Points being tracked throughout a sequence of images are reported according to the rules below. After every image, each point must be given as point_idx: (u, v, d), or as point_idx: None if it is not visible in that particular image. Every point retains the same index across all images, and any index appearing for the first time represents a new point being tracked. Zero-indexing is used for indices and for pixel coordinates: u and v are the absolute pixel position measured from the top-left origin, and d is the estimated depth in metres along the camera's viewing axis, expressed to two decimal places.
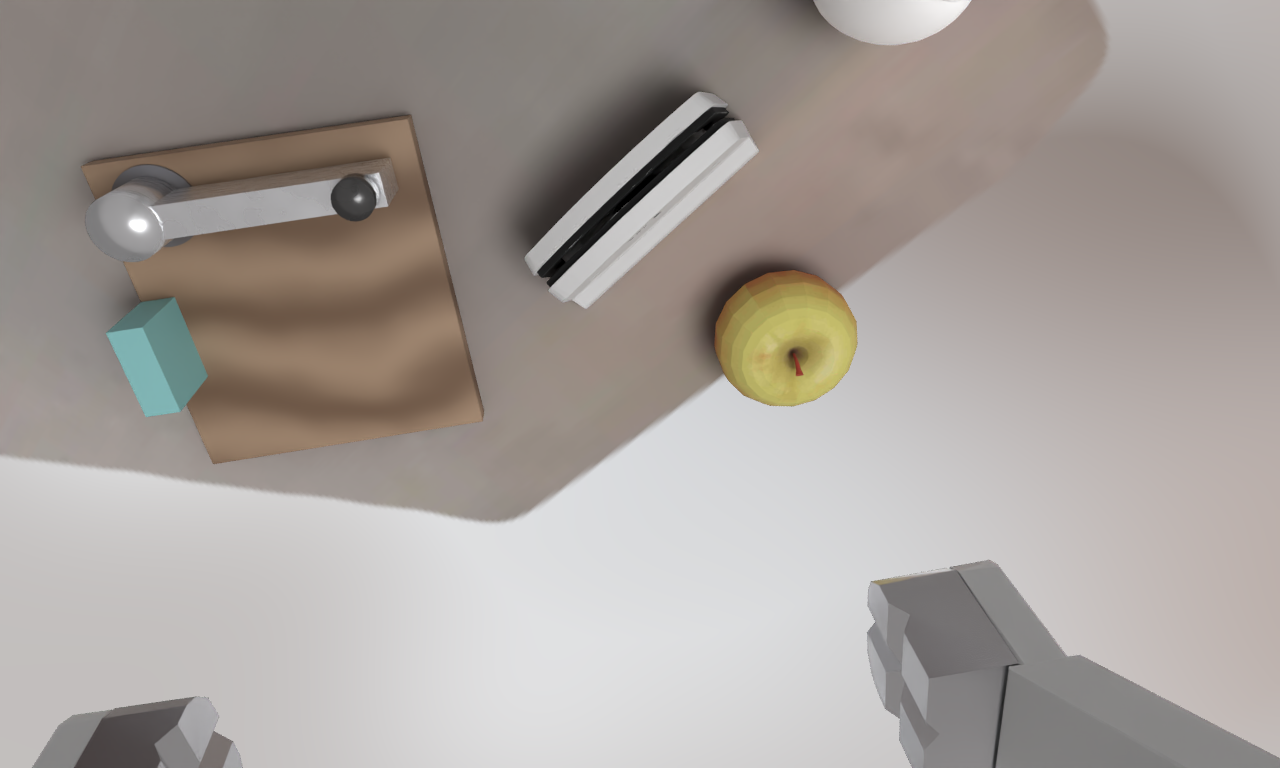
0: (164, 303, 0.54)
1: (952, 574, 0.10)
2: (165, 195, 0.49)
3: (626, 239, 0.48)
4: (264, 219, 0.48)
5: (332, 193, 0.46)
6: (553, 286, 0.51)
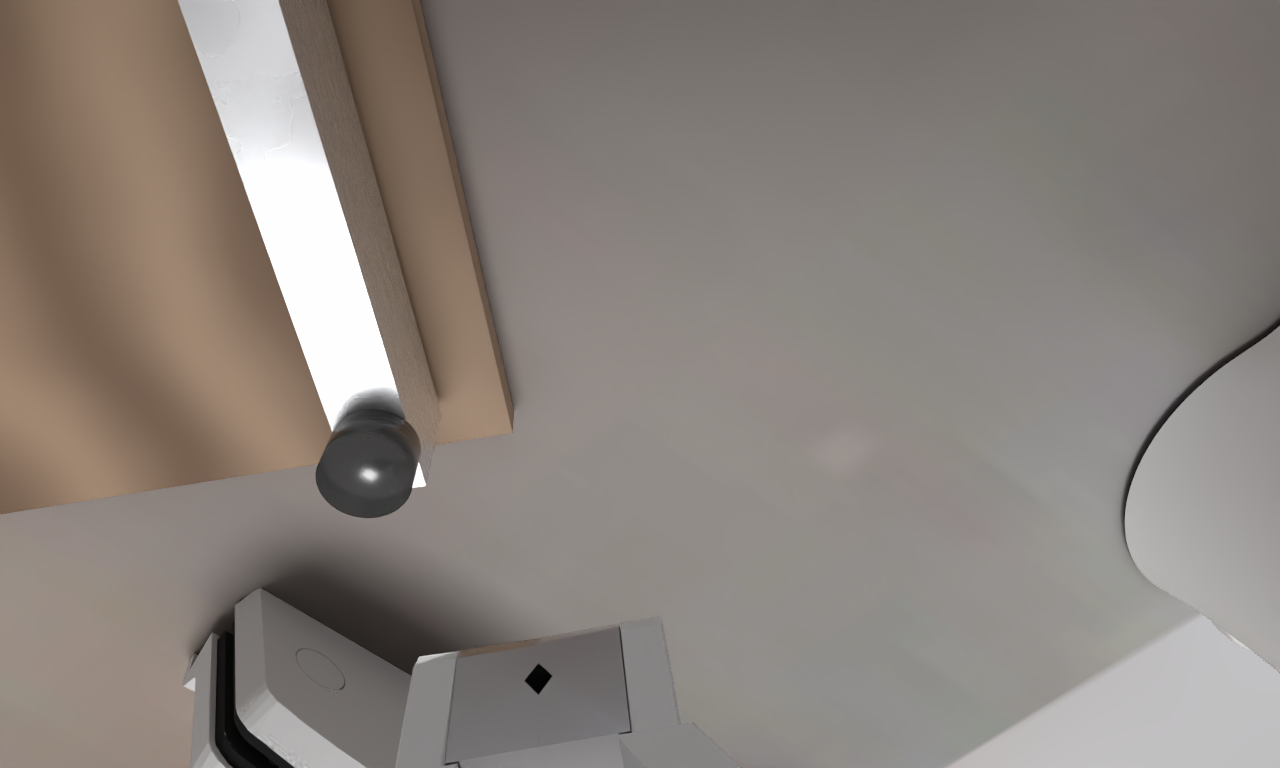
0: None
1: (613, 631, 0.09)
2: None
3: None
4: (282, 253, 0.20)
5: (376, 445, 0.21)
6: (222, 767, 0.26)
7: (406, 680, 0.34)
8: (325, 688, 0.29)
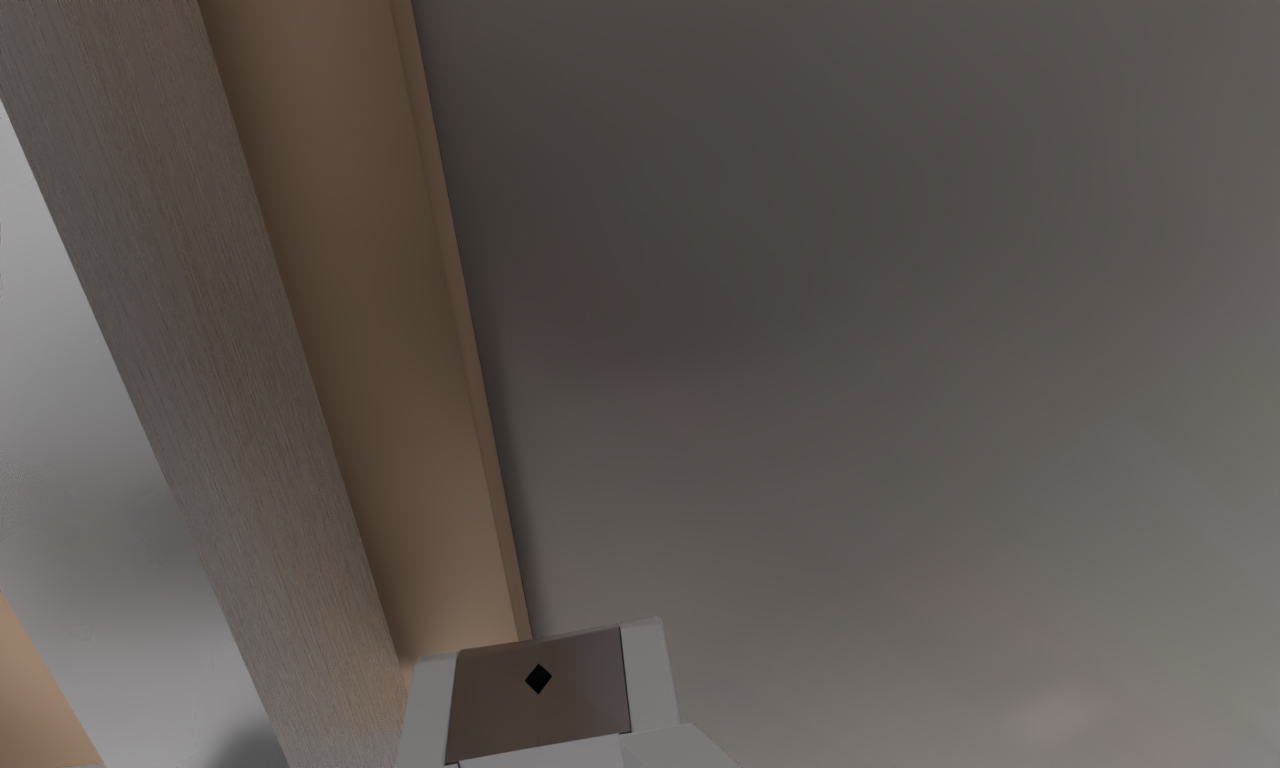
0: None
1: (613, 631, 0.09)
2: None
3: None
4: (11, 548, 0.08)
5: None
6: None
7: None
8: None
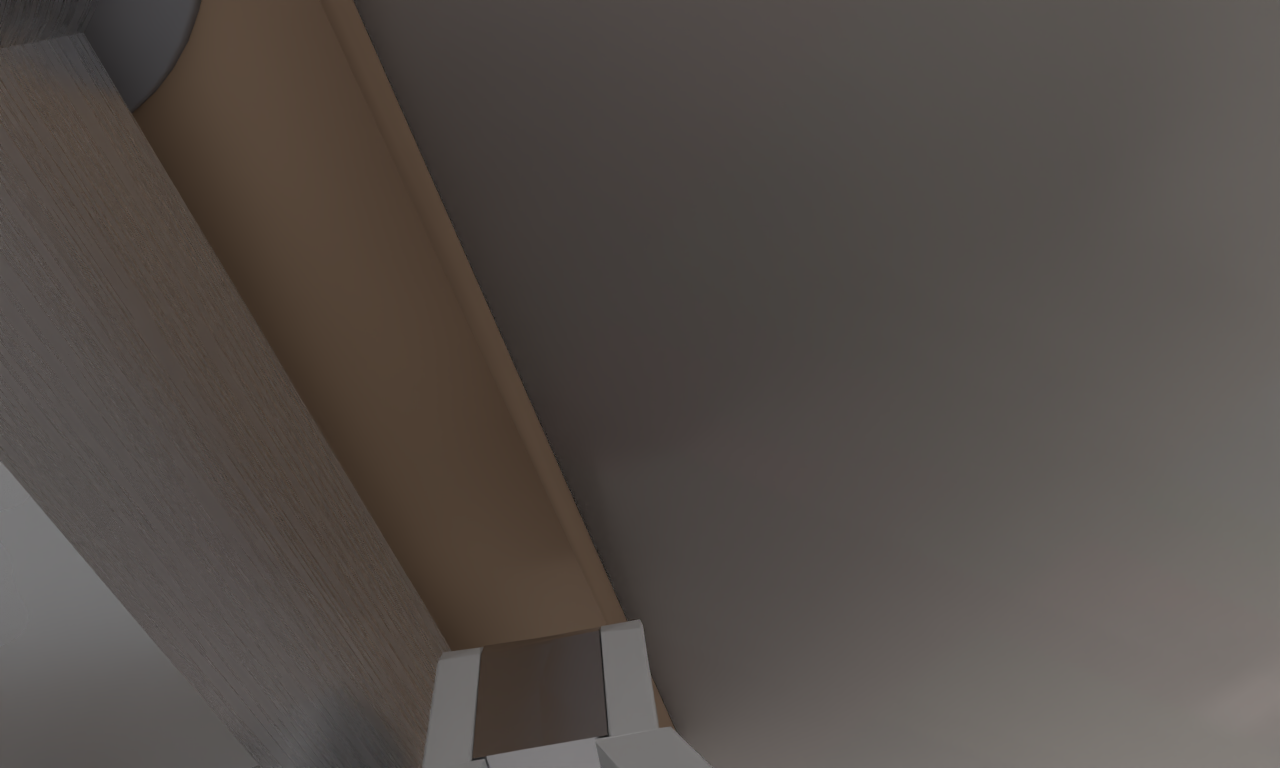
0: None
1: (594, 634, 0.09)
2: None
3: None
4: None
5: None
6: None
7: None
8: None
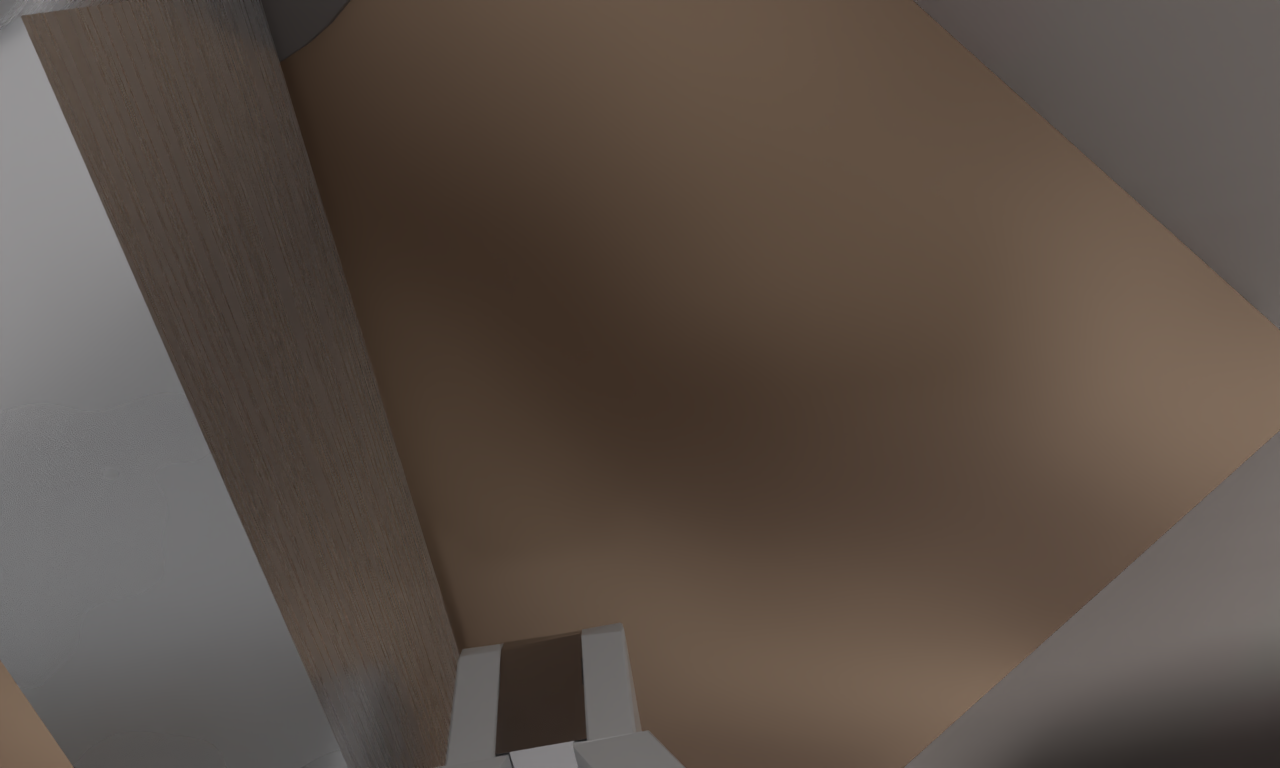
0: None
1: (574, 637, 0.09)
2: None
3: None
4: None
5: None
6: None
7: None
8: None
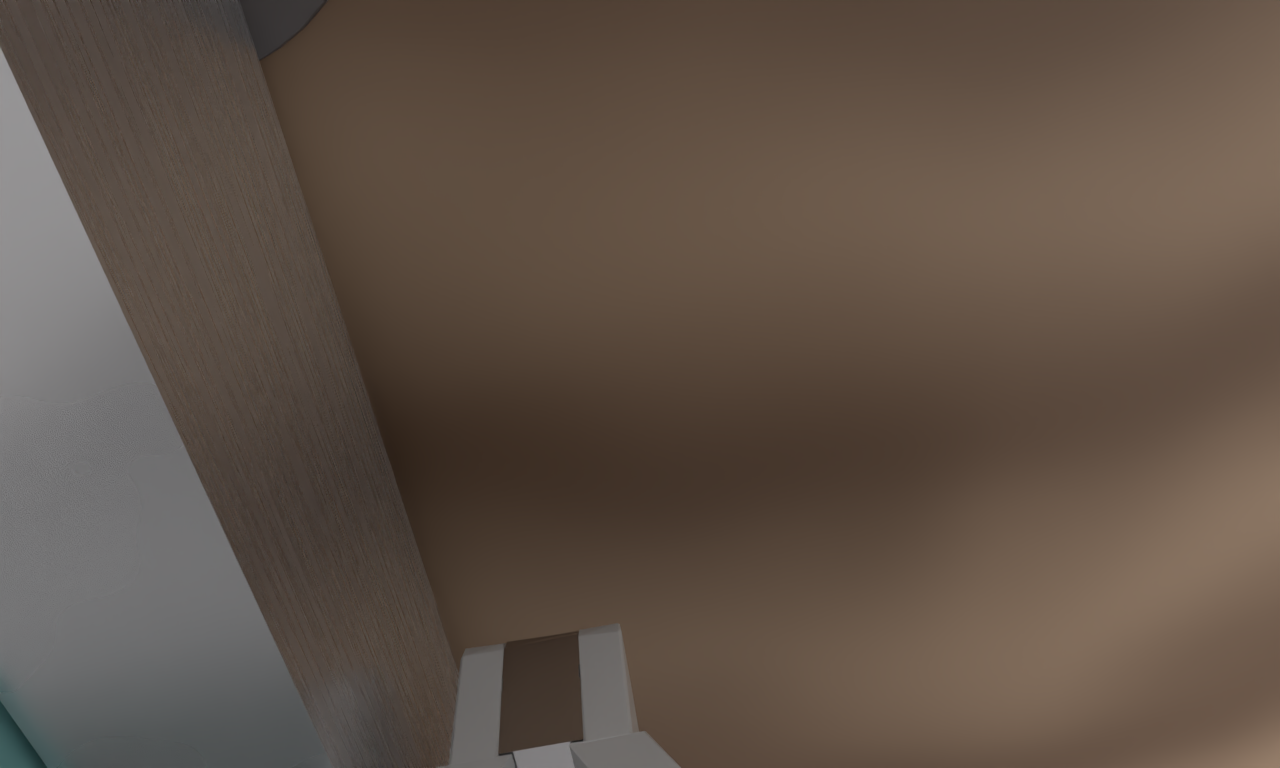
0: None
1: (571, 638, 0.09)
2: None
3: None
4: None
5: None
6: None
7: None
8: None
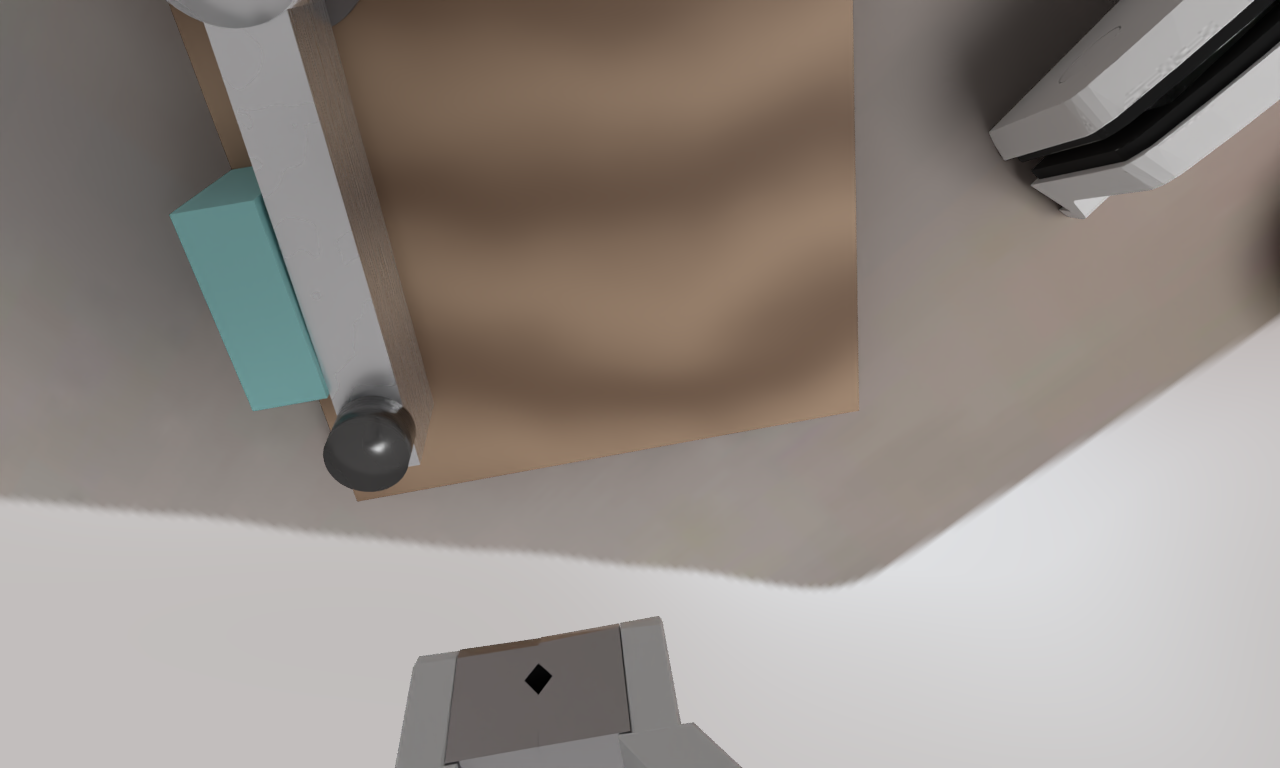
0: None
1: (613, 631, 0.09)
2: (312, 5, 0.22)
3: None
4: (295, 258, 0.23)
5: (377, 426, 0.23)
6: (1153, 150, 0.23)
7: None
8: (1108, 44, 0.24)
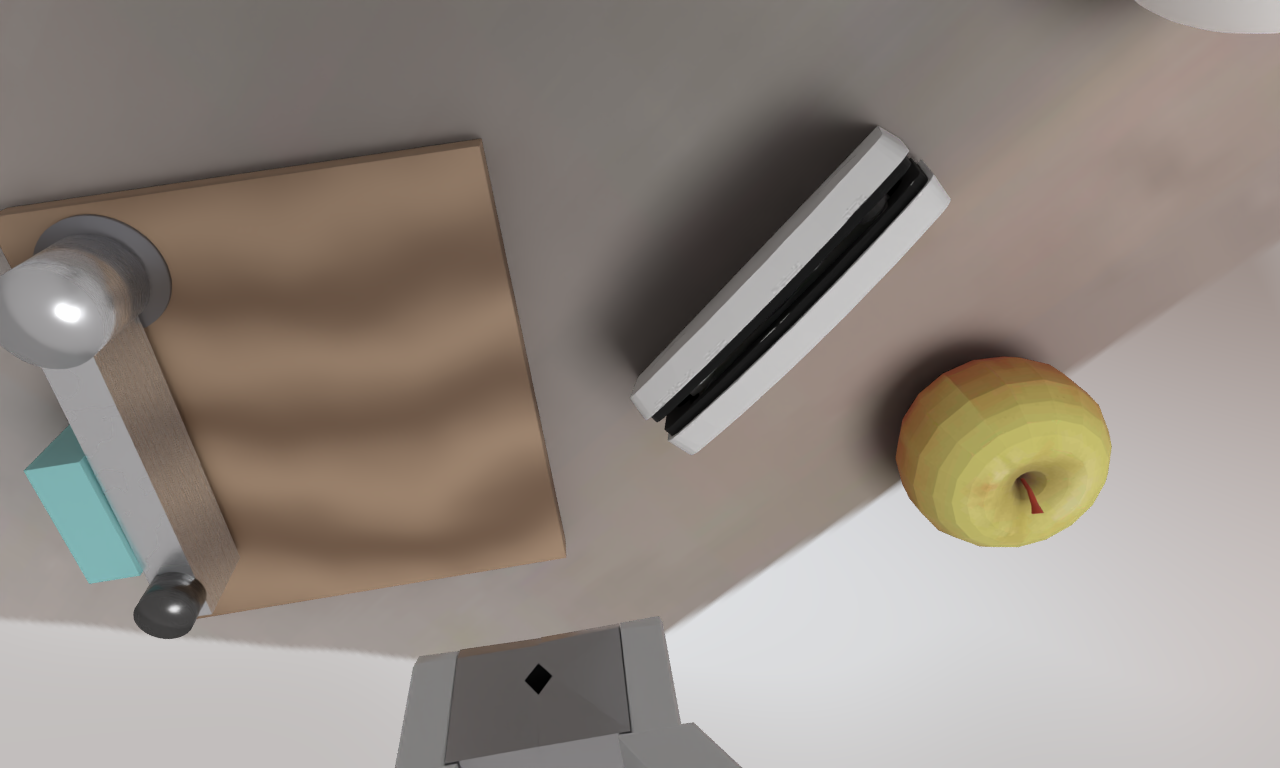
0: None
1: (613, 632, 0.09)
2: (122, 332, 0.34)
3: (788, 368, 0.32)
4: (111, 491, 0.34)
5: (169, 599, 0.35)
6: (677, 437, 0.35)
7: (735, 276, 0.39)
8: (669, 352, 0.36)
